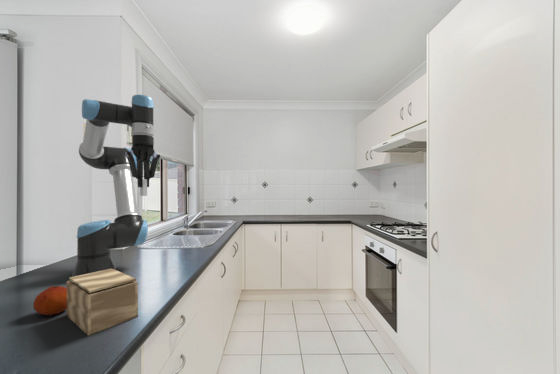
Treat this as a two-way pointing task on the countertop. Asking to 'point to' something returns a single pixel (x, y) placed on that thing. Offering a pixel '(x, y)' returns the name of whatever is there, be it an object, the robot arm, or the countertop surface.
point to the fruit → (51, 301)
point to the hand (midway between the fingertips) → (143, 195)
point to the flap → (101, 280)
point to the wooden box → (101, 306)
